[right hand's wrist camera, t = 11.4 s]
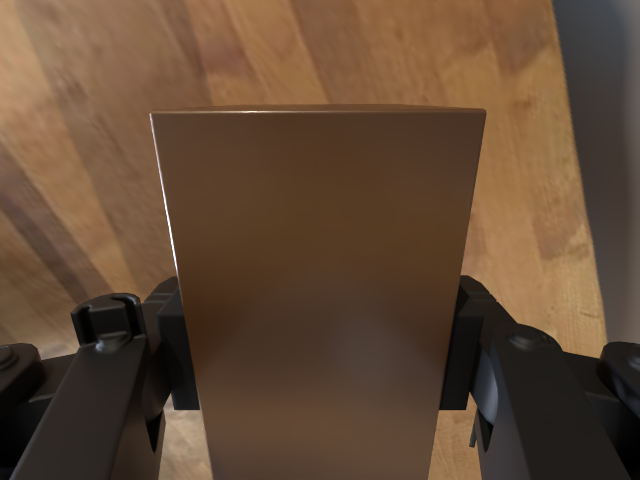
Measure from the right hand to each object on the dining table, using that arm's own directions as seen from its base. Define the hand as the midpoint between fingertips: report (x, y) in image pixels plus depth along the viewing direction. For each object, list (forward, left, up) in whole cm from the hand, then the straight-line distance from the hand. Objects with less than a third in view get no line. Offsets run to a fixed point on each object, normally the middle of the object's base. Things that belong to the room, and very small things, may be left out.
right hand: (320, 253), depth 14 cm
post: (-2, -22, -1) cm, 22 cm away
